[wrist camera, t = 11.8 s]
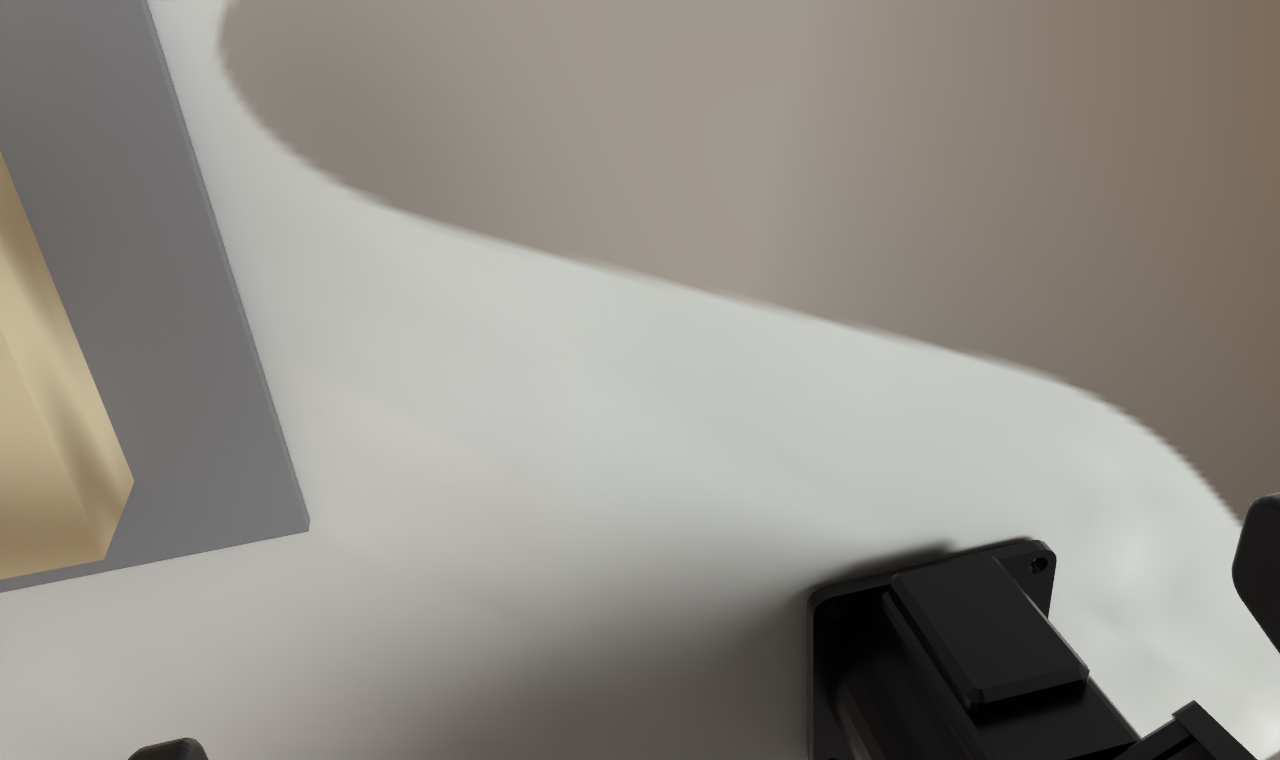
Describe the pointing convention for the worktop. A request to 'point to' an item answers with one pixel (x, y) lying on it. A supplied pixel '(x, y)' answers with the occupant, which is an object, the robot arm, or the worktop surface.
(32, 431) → the stick
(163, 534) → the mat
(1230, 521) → the worktop surface
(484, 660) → the worktop surface
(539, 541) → the worktop surface
